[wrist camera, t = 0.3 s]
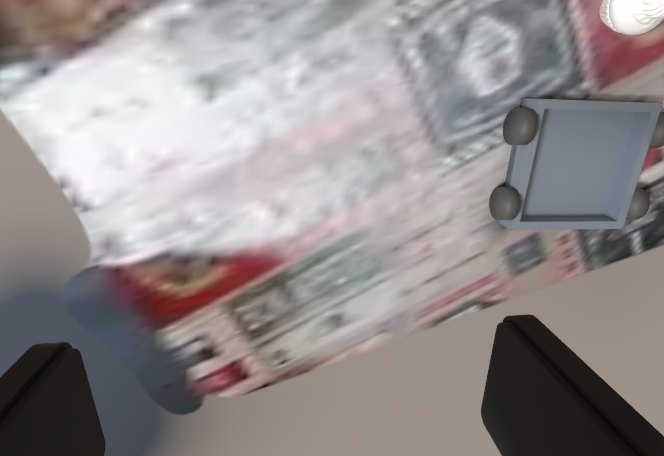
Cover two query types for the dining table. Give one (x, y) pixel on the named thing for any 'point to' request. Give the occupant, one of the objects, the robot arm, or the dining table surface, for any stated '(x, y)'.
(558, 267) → the dining table surface
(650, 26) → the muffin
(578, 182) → the toy cart
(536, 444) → the robot arm
